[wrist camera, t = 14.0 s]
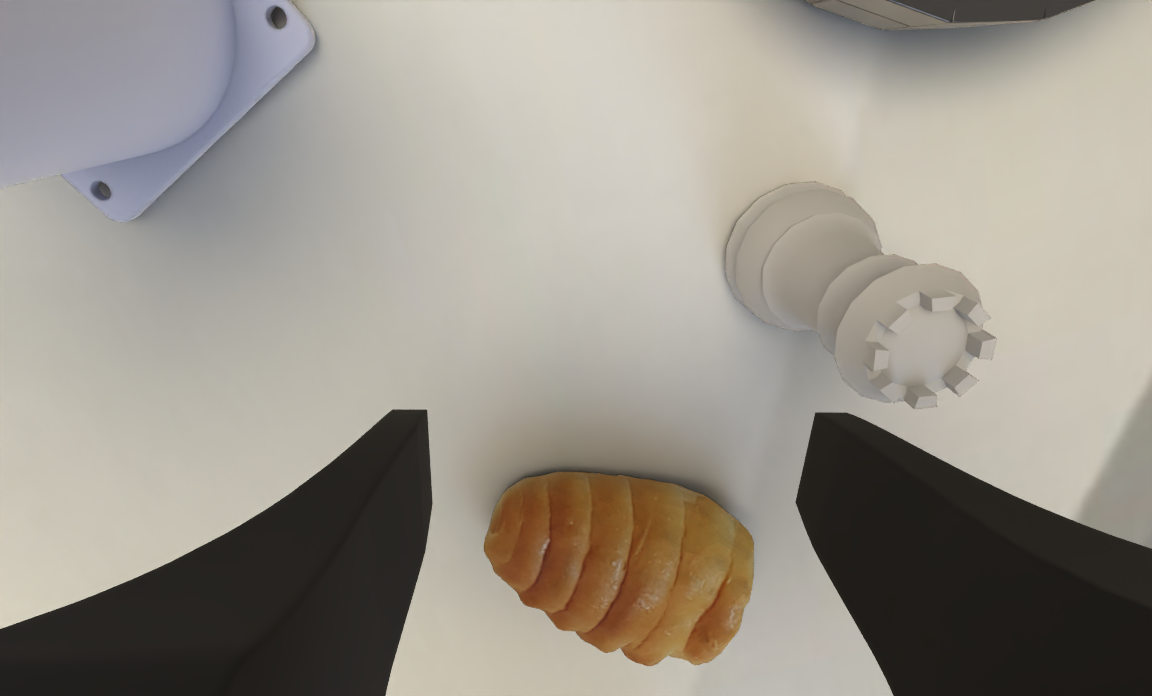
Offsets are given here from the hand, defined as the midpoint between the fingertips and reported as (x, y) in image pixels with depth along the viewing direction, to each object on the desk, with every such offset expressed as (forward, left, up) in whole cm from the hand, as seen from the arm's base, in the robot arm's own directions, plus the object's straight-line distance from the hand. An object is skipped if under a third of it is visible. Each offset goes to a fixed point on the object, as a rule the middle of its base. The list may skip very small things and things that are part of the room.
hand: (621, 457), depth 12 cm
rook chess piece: (+3, +6, -10) cm, 12 cm away
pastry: (+9, -5, -10) cm, 14 cm away
